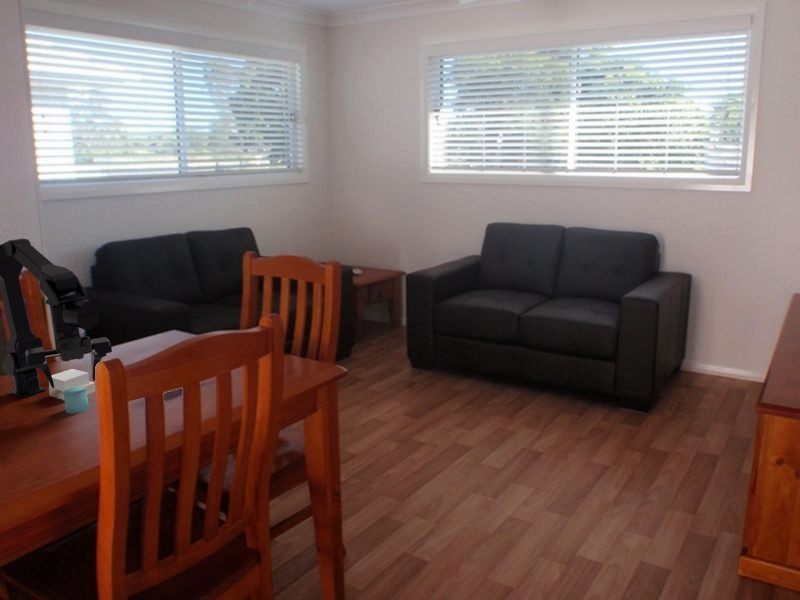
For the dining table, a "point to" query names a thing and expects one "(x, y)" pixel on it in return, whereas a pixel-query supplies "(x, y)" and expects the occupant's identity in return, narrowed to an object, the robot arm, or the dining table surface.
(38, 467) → the dining table surface
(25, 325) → the robot arm
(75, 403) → the light teal cube
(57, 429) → the dining table surface
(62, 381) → the top block
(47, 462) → the dining table surface
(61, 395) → the base slab
